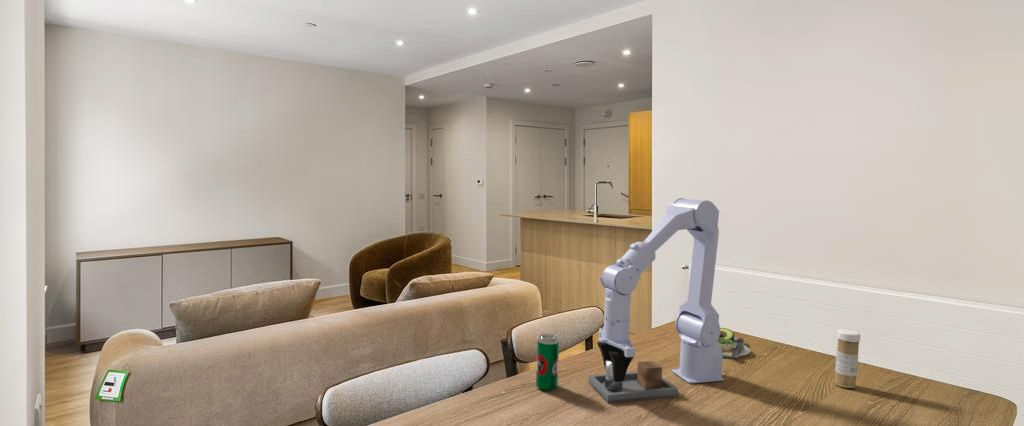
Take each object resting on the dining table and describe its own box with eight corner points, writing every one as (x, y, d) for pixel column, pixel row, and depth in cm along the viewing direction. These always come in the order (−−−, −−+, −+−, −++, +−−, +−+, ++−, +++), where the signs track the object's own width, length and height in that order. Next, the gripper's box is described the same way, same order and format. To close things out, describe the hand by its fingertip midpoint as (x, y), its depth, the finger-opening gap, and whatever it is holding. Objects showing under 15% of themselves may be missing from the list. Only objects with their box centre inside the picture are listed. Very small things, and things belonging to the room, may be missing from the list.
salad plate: (766, 364, 140) (767, 348, 139) (698, 362, 140) (699, 345, 140) (738, 340, 159) (739, 326, 158) (678, 338, 160) (679, 323, 159)
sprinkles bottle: (847, 382, 128) (852, 328, 127) (860, 390, 124) (865, 334, 123) (829, 381, 128) (833, 328, 127) (841, 389, 124) (846, 334, 122)
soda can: (556, 392, 118) (558, 341, 117) (534, 390, 119) (535, 339, 118) (558, 384, 123) (560, 334, 122) (537, 381, 124) (539, 332, 123)
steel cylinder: (617, 382, 122) (618, 357, 122) (625, 389, 118) (626, 364, 118) (601, 384, 121) (602, 359, 120) (609, 391, 117) (610, 365, 117)
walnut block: (652, 381, 124) (653, 360, 124) (661, 388, 120) (662, 367, 120) (637, 382, 123) (638, 362, 123) (645, 389, 120) (646, 368, 119)
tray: (653, 377, 128) (653, 370, 128) (677, 396, 118) (678, 388, 118) (588, 382, 124) (588, 375, 124) (607, 403, 114) (608, 395, 113)
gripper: (588, 310, 124) (586, 366, 126) (614, 329, 110) (611, 391, 112) (615, 309, 126) (613, 364, 127) (644, 327, 112) (642, 388, 113)
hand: (614, 376), depth 119 cm, fingers closed on steel cylinder, 4 cm apart
